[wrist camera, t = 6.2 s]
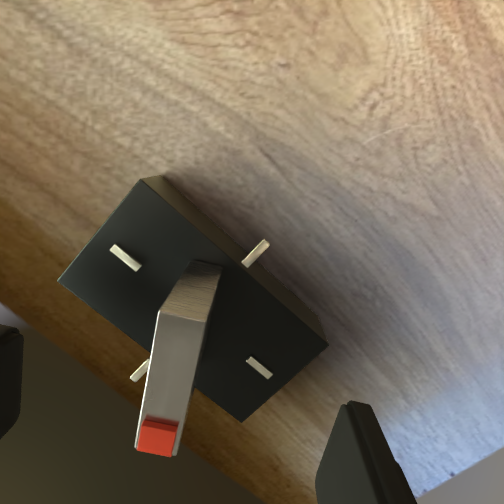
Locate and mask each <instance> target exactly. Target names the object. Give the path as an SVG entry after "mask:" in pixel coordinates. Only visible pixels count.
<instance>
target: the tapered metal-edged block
mask: <svg viewBox="0 0 504 504" xmlns="http://www.w3.org/2000/svg"><path fill="white" fill-rule="evenodd" d="M222 269H223V267H222V266H218V265H213V264H209V263H205V262H200V261H196V260H191V261H190V262H189V264H188V265H187V267H186V268H185V270H184V272H183V273H182V275H181V276H180V278H179V280H178V281H177V283H176V284H175V286H174V287H173V289H172V291H171V292H170V294H169V295H168V297H167V299H166V300H165V302H164V303H163V305H162V306H161V308H160V310H159V311H158V316H157V322H156V328H155V333H154V339H153V344H152V350H151V356H150V361H149V367H148V372H147V378H146V384H145V389H144V395H143V400H142V406H141V412H140V417H139V423H138V428H137V434H136V440H135V448H137V450H138V451H142V452H148V453H153V454H158V455H163V456H168V457H171V456H172V455H174V456H175V455H177V452H178V448H179V445H180V441H181V437H182V433H183V430H184V426H185V422H186V418H187V415H188V411H189V407H190V403H191V399H192V396H193V392H194V388H195V384H196V381H197V377H198V373H199V369H200V366H201V361H202V357H203V352H204V348H205V344H206V339H207V335H208V330H209V326H210V322H211V317H212V313H213V308H214V304H215V300H216V295H217V291H218V286H219V282H220V278H221V273H222Z"/></svg>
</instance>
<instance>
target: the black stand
mask: <svg viewBox="0 0 504 504" xmlns="http://www.w3.org/2000/svg"><path fill="white" fill-rule="evenodd" d="M269 246H270V243H268V242H267V241H266V240H265V239H263V240H262V241H261V242H260V243H259V244H258V245H257V246H256V247H255V248H254V249H253V250H252V251H251V252H250V253H249V254H248V253H247V252H246V251H245V250H244V249H243V248H242V247H240V246H239V245H238V244H237V243H236V242H235V241H234V240H233V239H231V238H230V237H229V236H228V235H227V234H226V233H225V232H224V231H223V230H221V229H220V228H219V227H218V226H217V225H216V224H215V223H214V222H212V221H211V220H210V219H209V218H208V217H207V216H206V215H205V214H204V213H202V212H201V211H200V210H199V209H198V208H197V207H196V206H195V205H193V204H192V203H191V202H190V201H189V200H188V199H187V198H186V197H185V196H183V195H182V194H181V193H180V192H179V191H178V190H177V189H176V188H174V187H173V186H172V185H171V184H170V183H169V182H168V181H167V180H166V179H164V178H163V177H162V176H161V175H159V176H154V177H148V178H143V179H140V180H139V181H138V182H137V183H136V185H135V186H134V187H133V188H132V189H131V191H130V192H129V193H128V194H127V196H126V197H125V198H124V199H123V200H122V202H121V203H120V204H119V205H118V206H117V208H116V209H115V210H114V211H113V213H112V214H111V215H110V216H109V217H108V219H107V220H106V221H105V222H104V224H103V225H102V226H101V227H100V228H99V230H98V231H97V232H96V233H95V235H94V236H93V237H92V238H91V239H90V241H89V242H88V243H87V244H86V246H85V247H84V248H83V249H82V250H81V252H80V253H79V254H78V255H77V257H76V258H75V259H74V260H73V261H72V263H71V264H70V265H69V266H68V267H67V269H66V270H65V271H64V272H63V274H62V275H61V276H60V277H59V278H58V280H57V281H58V282H59V283H60V284H62V285H63V286H64V287H65V288H67V289H68V290H69V291H71V292H72V293H73V294H75V295H76V296H77V297H78V298H80V299H81V300H82V301H84V302H85V303H86V304H88V305H89V306H90V307H91V308H93V309H94V310H95V311H97V312H98V313H99V314H101V315H102V316H103V317H104V318H106V319H107V320H108V321H110V322H111V323H112V324H114V325H115V326H116V327H117V328H119V329H120V330H121V331H123V332H124V333H125V334H127V335H128V336H129V337H130V338H132V339H133V340H134V341H136V342H137V343H138V344H140V345H141V346H142V347H143V348H145V349H146V350H147V351H149V352H150V353H151V350H152V344H153V339H154V333H155V328H156V322H157V316H158V311H159V310H160V308H161V306H162V305H163V303H164V302H165V300H166V299H167V297H168V295H169V294H170V292H171V291H172V289H173V287H174V286H175V284H176V283H177V281H178V280H179V278H180V276H181V275H182V273H183V272H184V270H185V268H186V267H187V265H188V264H189V262H190V261H191V260H196V261H200V262H205V263H209V264H213V265H218V266H222V267H223V269H222V273H221V278H220V282H219V286H218V291H217V295H216V300H215V304H214V308H213V313H212V317H211V322H210V326H209V330H208V335H207V339H206V344H205V348H204V352H203V357H202V361H201V366H200V369H199V373H198V377H197V381H196V384H195V388H197V389H198V390H199V391H201V392H202V393H203V394H205V395H206V396H207V397H208V398H210V399H211V400H212V401H214V402H215V403H216V404H218V405H219V406H220V407H221V408H223V409H224V410H225V411H227V412H228V413H229V414H231V415H232V416H233V417H234V418H236V419H237V420H238V421H240V422H241V423H242V422H243V421H244V420H246V419H247V418H248V417H249V416H250V415H251V414H252V413H253V412H255V411H256V410H257V409H258V408H259V407H260V406H261V405H262V404H264V403H265V402H266V401H267V400H268V399H269V398H270V397H271V396H273V395H274V394H275V393H276V392H277V391H278V390H279V389H281V388H282V387H283V386H284V385H285V384H286V383H287V382H288V381H290V380H291V379H292V378H293V377H294V376H295V375H296V374H297V373H299V372H300V371H301V370H302V369H303V368H304V367H305V366H306V365H308V364H309V363H310V362H311V361H312V360H313V359H314V358H315V357H317V356H318V355H319V354H320V353H321V352H322V351H323V350H324V349H326V348H327V347H328V346H329V343H328V341H327V338H326V336H325V333H324V331H323V328H322V325H321V323H320V320H319V318H318V315H316V314H315V313H314V312H313V311H312V310H311V309H310V308H309V307H307V306H306V305H305V304H304V303H303V302H302V301H301V300H300V299H299V298H297V297H296V296H295V295H294V294H293V293H292V292H291V291H290V290H288V289H287V288H286V287H285V286H284V285H283V284H282V283H281V282H280V281H278V280H277V279H276V278H275V277H274V276H273V275H272V274H271V273H269V272H268V271H267V270H266V269H265V268H264V267H263V266H262V265H261V264H259V263H258V262H257V261H256V259H257V258H258V257H259V256H260V255H261V254H262V253H263V252H264V251H265V250H266V249H267V248H268V247H269ZM149 361H150V358H148V359H147V360H146V361H145V362H144V363H143V364H142V365H141V366H140V367H139V368H138V369H137V370H136V371H135V372H134V373H133V374H132V375H131V377H130V379H132V380H133V381H134V382H137V381H138V379H139V378H140V377H141V376H142V375H143V374H144V373H145V372H146V371H147V370H148V367H149Z"/></svg>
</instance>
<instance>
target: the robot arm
mask: <svg viewBox="0 0 504 504" xmlns="http://www.w3.org/2000/svg"><path fill="white" fill-rule="evenodd" d="M23 341H24V338H23V335H21V334H19V330H18V329H17V328H14V327H10V326H6V325H1V324H0V439H1V438H2V437H3V436H4V435H5V434H6V433H7V432H8V430H9V429H10V428H11V427H12V426H13V425H14V424H15V422H16V421H17V419H18V417H19V414H20V402H21V401H20V400H21V383H22V363H23ZM315 488H316V495H317V501H318V504H417V502H416V500H415V498H414V495H413V493H412V491H411V489H410V487H409V484H408V482H407V480H406V478H405V475H404V473H403V471H402V469H401V467H400V465H399V464H398V463H397V462H396V461H395V459H394V457H393V454H392V452H391V450H390V448H389V445H388V443H387V441H386V439H385V436H384V434H383V432H382V430H381V427H380V425H379V423H378V421H377V418H376V416H375V414H374V412H373V409H372V407H371V406H370V405H369V404H365V403H360V402H356V401H349V402H348V403H347V405H345V404H342V405H341V407H340V409H339V412H338V415H337V418H336V421H335V423H334V426H333V429H332V432H331V435H330V437H329V440H328V443H327V446H326V448H325V451H324V454H323V457H322V460H321V462H320V465H319V468H318V471H317V474H316V480H315Z"/></svg>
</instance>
